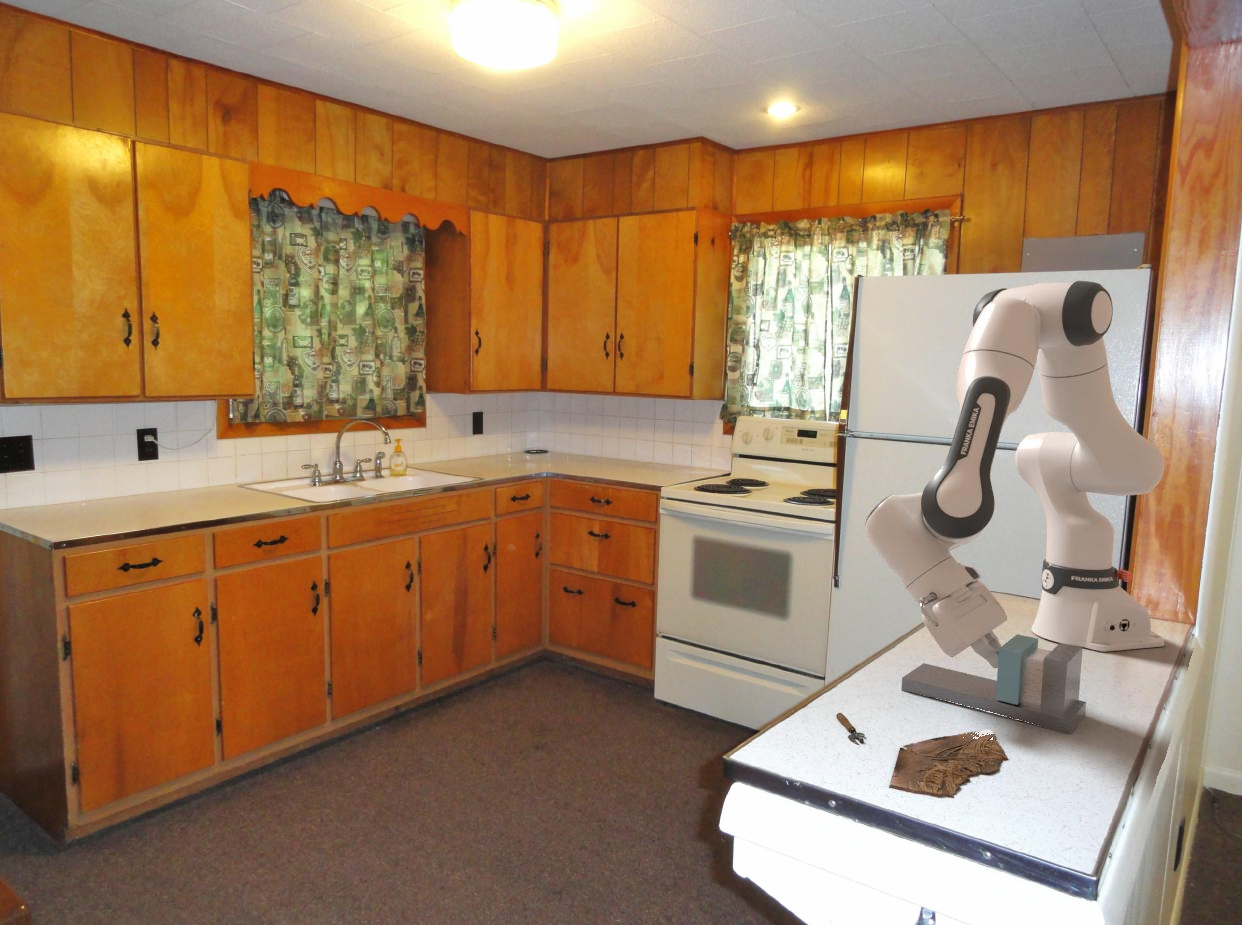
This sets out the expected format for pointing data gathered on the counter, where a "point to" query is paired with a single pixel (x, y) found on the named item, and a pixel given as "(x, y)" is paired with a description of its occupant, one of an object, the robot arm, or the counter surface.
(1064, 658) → the vise bed
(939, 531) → the robot arm
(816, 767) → the counter surface
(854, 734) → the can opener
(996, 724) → the counter surface
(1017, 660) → the slide jaw
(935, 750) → the wooden fragment
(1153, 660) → the counter surface
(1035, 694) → the steel block
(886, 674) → the counter surface
